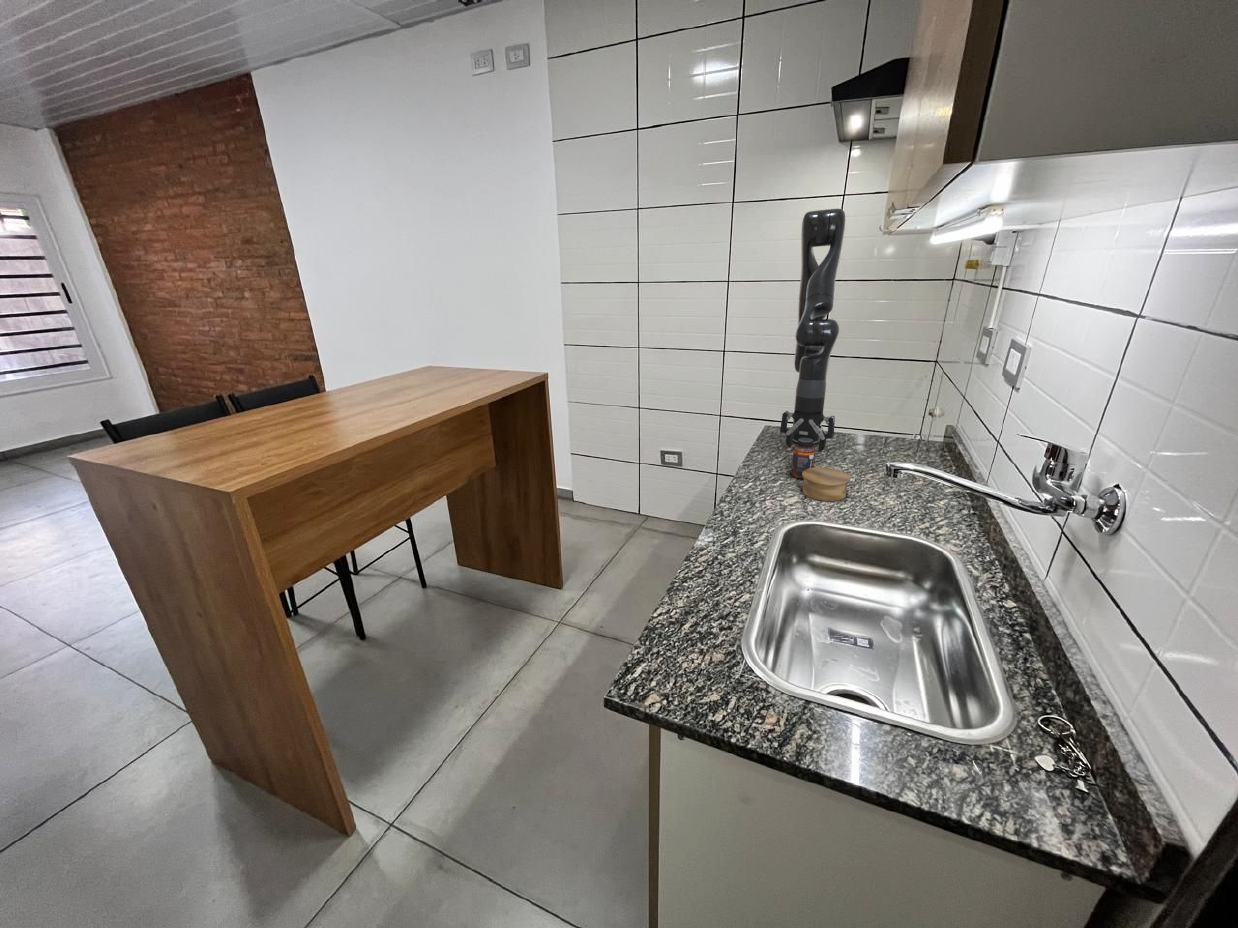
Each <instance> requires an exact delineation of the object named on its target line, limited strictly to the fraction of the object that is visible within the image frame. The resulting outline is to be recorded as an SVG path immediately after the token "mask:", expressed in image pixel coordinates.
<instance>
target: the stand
mask: <svg viewBox="0 0 1238 928" xmlns="http://www.w3.org/2000/svg"><path fill="white" fill-rule="evenodd" d="M802 477H803V478H804V479H802V480H803V481H802V493H803V494H804V496H807V497H809V498H811V499H813V500H817V501H823V502H836V501H837V502H838V501H841V500H843V499H845V498H846V497H847V490H848V484H849V483H851V482H850V481H851V476H850V474H848V473H846V472H844V471H842V470H839V469H835V468H832V467H819V466H817V467H814V468H809V469H806V470H804V471H803V473H802Z"/></svg>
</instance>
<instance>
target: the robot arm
mask: <svg viewBox="0 0 1238 928" xmlns="http://www.w3.org/2000/svg"><path fill="white" fill-rule="evenodd" d="M845 229H846V214H845V211H844V209H843V208H828V209H818V210H810V211H807V212H805V214H804V215H803V218H802V222H801V233H800V234H801V235H800V236H801V237H800V241H801V243H800V244H801V245H800V247H801V248H800V250H801V251H800V252H801V254H800V257H801V259H800V260H801V262H800V266H801V267H800V281H799V292H798V305H797V306H798V307H797V309H798V310H797V311H798V313H797V316H798V317H797V327H796V331H795V342H796V343H795V351H794V360H793V361H794V362H793V363H794V370H795V372H797V373H798V380H797V383H796V389H795V397H794V398H795V399H794V400H795V401H794V411H793V412H790V411H788V410H785V411H784V412H783V413H782V415H781V422H780V426H779V427H780V428H779V432H780V433H782V434H785V435H786V437H785V446H787V448H788V449H790V448H792V446H793V442H794V443H796V444H798V439H799V438H810V439H812V440H813V444H812V445H816V444H818V448H817V449H818V451H817V452H818V453H822V452H823V451H824V450H825V448H826V443H827V440H828V439H829V440H830V439H832V438H833V437H834V436H835V421H836V417H835V415H830V416H825V415H824V408H825V399H826V392H827V376H828V371H829V364H830V359H831V354H832V351H833V348H834V346H835V344H836V342H837V339H838V337H839V333H840V325H839V323H838V321H836V320H835V319H834V318H826V317H827V316H828V315H829V314H830V313H831V312H832V310H833V308H834V302H835V301H834V299H835V286H836V278H837V274H838V273H837V272H838V268H839V264H840V259H841V254H842V249H843V244H844V237H845ZM817 247H829V249H828V251H827V253H826V255H825V257H824V258H823V260H822V261H821V262H820V264H818V261H817V259H816V256H815V253H814V248H817ZM791 418H792V420H793V421H792V422H793V423H792V426H791V427H790V428H788V422H789V420H791ZM823 422H825V424H826V425H827V433H826V431H825V430H824V427H823V426H822V423H823Z"/></svg>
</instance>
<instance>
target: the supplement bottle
mask: <svg viewBox="0 0 1238 928" xmlns="http://www.w3.org/2000/svg"><path fill="white" fill-rule="evenodd" d="M815 460H816V448H815V446H814V444H813V440H812V439H810V438H799V439H798V443H797V444H796V445H795V446H794V447H793V453H792V463H791V464H792V465H791V475H792V476H793V477H794V478H795V479H800V480H804V478H803V477H802V473H803V471H804V470H806V469H809V468H815Z"/></svg>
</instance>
